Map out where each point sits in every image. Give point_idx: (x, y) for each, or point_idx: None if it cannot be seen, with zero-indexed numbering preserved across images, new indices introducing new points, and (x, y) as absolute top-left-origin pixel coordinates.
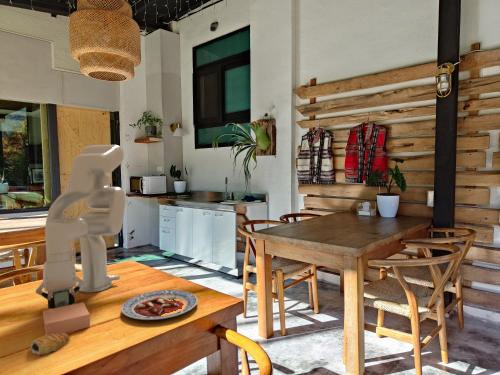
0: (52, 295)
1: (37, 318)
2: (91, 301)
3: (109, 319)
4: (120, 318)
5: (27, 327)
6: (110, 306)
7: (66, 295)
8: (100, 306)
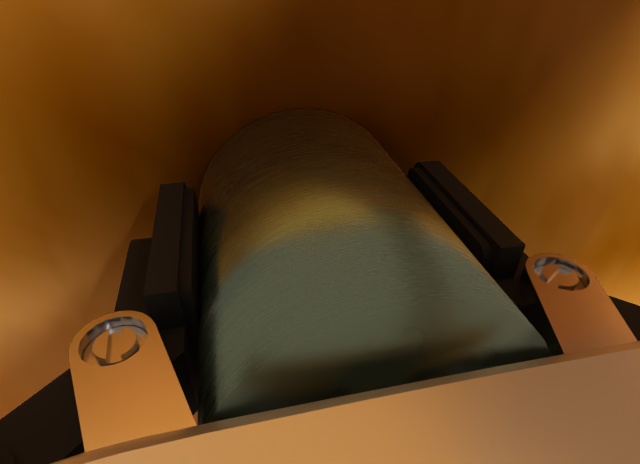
0: None
1: (44, 313)
2: (634, 93)
3: None
4: None
5: None
6: (633, 301)
7: None
8: (595, 272)
